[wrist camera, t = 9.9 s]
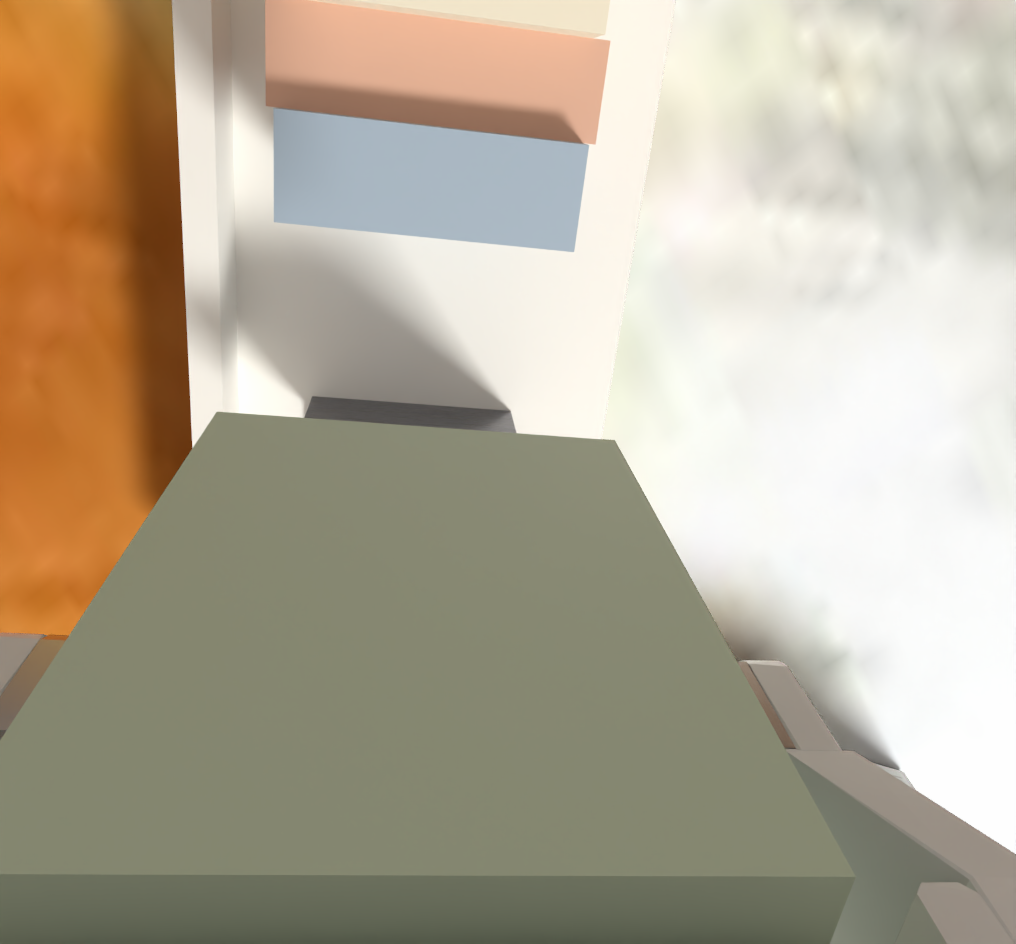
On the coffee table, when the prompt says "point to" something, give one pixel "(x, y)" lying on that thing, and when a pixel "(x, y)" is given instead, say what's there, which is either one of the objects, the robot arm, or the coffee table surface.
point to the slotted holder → (412, 205)
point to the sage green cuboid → (404, 715)
